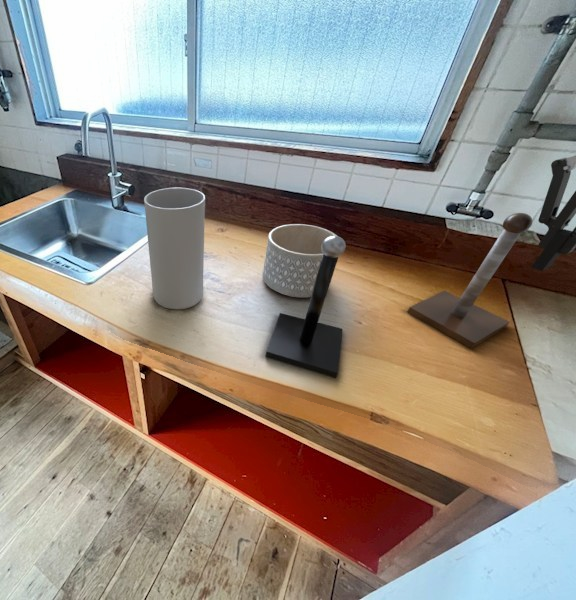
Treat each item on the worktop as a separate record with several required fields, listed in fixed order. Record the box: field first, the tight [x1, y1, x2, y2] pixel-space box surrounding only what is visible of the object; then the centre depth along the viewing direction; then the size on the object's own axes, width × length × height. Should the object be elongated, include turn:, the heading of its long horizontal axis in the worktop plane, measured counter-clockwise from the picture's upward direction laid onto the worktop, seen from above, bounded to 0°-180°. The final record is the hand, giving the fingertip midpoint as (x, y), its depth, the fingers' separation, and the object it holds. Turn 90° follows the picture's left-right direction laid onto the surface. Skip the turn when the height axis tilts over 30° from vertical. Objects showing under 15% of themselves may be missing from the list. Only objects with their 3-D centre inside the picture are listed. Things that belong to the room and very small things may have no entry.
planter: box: [262, 223, 338, 298], centre depth 80 cm, size 16×16×13 cm
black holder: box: [264, 235, 347, 379], centre depth 60 cm, size 25×13×13 cm
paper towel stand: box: [407, 212, 534, 349], centre depth 62 cm, size 25×13×13 cm
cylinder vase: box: [143, 187, 206, 310], centre depth 73 cm, size 12×12×25 cm
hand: (540, 267), depth 56 cm, fingers closed
